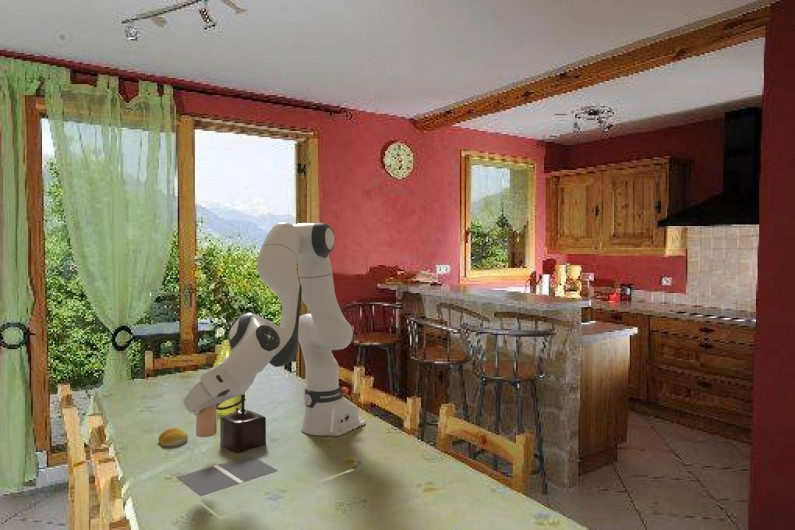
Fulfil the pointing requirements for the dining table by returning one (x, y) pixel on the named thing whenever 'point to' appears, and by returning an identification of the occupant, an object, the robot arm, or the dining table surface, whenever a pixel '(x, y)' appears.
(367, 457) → the dining table surface
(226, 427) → the manual coffee grinder
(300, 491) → the dining table surface
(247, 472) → the throwing lane
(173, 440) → the bread roll
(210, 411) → the terracotta jar
